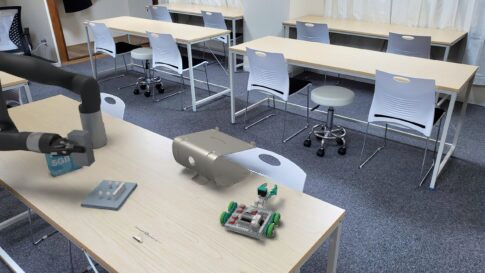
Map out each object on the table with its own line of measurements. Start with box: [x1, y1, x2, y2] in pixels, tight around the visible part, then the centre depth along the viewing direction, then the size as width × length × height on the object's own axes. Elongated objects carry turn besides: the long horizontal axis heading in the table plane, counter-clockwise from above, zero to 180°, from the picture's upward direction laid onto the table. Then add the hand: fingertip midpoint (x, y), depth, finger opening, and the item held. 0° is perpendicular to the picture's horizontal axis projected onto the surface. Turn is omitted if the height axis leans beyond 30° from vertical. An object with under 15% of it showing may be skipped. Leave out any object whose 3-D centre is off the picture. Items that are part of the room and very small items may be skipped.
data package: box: [44, 152, 82, 177], centre depth 152 cm, size 12×4×12 cm, turn 132°
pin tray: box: [80, 179, 138, 212], centre depth 137 cm, size 16×14×4 cm
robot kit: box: [219, 182, 282, 239], centre depth 126 cm, size 19×25×9 cm
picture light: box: [132, 224, 162, 244], centre depth 118 cm, size 14×4×2 cm, turn 52°
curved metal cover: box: [171, 126, 257, 187], centre depth 150 cm, size 26×24×16 cm
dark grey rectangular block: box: [66, 129, 96, 167], centre depth 131 cm, size 4×6×12 cm, turn 79°
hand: (88, 147), depth 130 cm, fingers closed on dark grey rectangular block, 4 cm apart
